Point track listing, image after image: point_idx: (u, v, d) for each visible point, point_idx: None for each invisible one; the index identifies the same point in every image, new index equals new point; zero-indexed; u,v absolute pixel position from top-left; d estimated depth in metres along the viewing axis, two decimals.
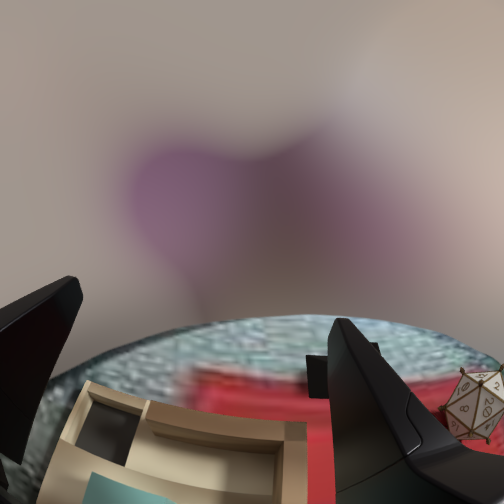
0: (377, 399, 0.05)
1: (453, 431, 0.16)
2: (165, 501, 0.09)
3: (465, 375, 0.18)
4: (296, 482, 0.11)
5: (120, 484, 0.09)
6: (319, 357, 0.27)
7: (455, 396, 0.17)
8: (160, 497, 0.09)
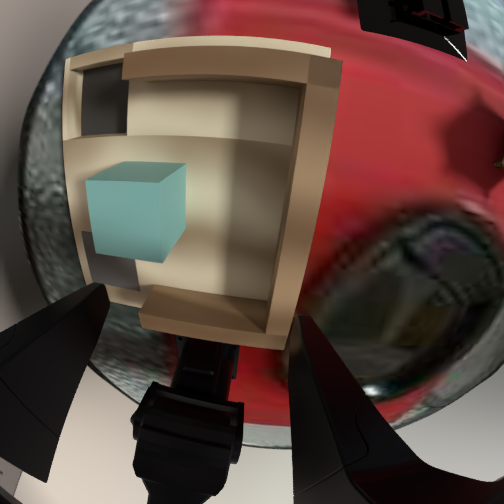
0: (324, 400, 0.05)
1: None
2: (159, 187, 0.12)
3: None
4: (316, 149, 0.12)
5: (113, 182, 0.12)
6: None
7: None
8: (153, 184, 0.12)
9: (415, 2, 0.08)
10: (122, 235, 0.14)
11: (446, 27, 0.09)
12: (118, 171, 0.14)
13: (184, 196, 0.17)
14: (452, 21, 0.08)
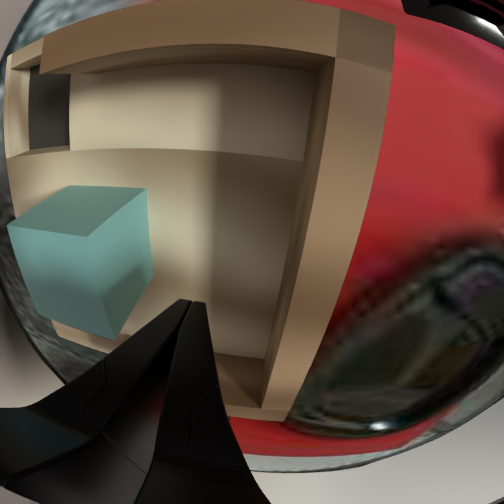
0: (170, 382, 0.05)
1: None
2: (90, 242, 0.07)
3: None
4: (349, 177, 0.07)
5: (34, 231, 0.07)
6: None
7: None
8: (80, 238, 0.07)
9: None
10: (59, 300, 0.09)
11: None
12: (51, 207, 0.09)
13: (146, 234, 0.12)
14: None
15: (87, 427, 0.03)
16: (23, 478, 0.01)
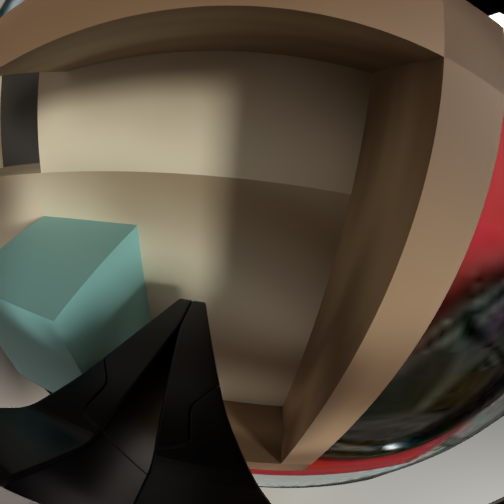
0: (170, 382, 0.05)
1: None
2: (60, 326, 0.05)
3: None
4: (444, 244, 0.04)
5: None
6: None
7: None
8: (46, 321, 0.04)
9: None
10: (39, 371, 0.06)
11: None
12: (16, 254, 0.06)
13: (140, 283, 0.09)
14: None
15: (87, 427, 0.03)
16: (23, 478, 0.01)
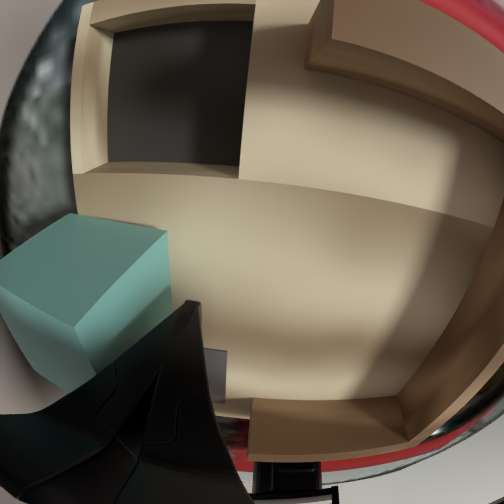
0: (160, 380, 0.05)
1: None
2: (80, 332, 0.05)
3: None
4: None
5: (10, 294, 0.05)
6: None
7: None
8: (65, 326, 0.04)
9: None
10: (54, 370, 0.06)
11: None
12: (38, 251, 0.06)
13: (166, 289, 0.09)
14: None
15: (99, 433, 0.03)
16: (38, 488, 0.01)
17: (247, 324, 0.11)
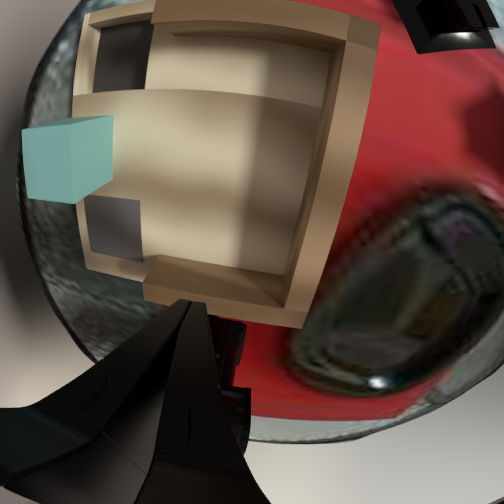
0: (170, 382, 0.05)
1: None
2: (71, 128, 0.11)
3: None
4: (353, 104, 0.10)
5: (39, 129, 0.10)
6: None
7: None
8: (66, 126, 0.10)
9: (456, 17, 0.08)
10: (45, 177, 0.12)
11: (480, 29, 0.08)
12: (51, 123, 0.12)
13: (110, 146, 0.15)
14: (488, 27, 0.07)
15: (87, 427, 0.03)
16: (23, 478, 0.01)
17: (150, 175, 0.16)
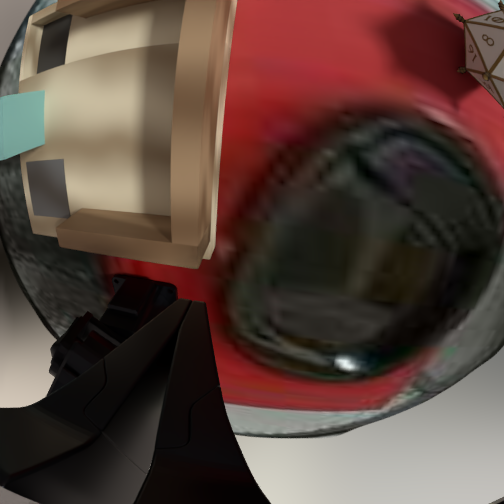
0: (170, 382, 0.05)
1: (469, 60, 0.10)
2: (4, 99, 0.09)
3: (503, 12, 0.05)
4: (199, 18, 0.09)
5: None
6: None
7: (481, 19, 0.06)
8: (1, 98, 0.09)
9: None
10: None
11: None
12: None
13: (41, 115, 0.14)
14: None
15: (87, 427, 0.03)
16: (23, 478, 0.01)
17: (69, 134, 0.15)
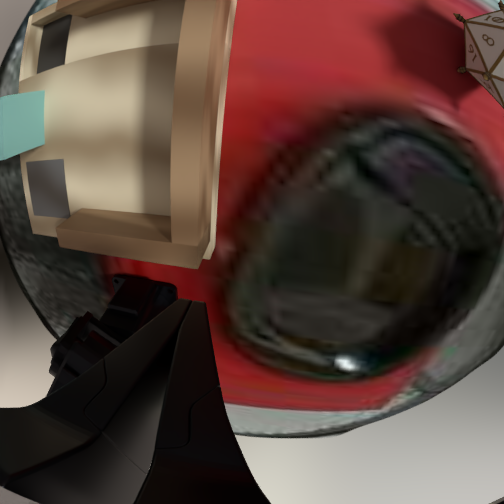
0: (170, 382, 0.05)
1: (469, 60, 0.10)
2: (4, 99, 0.09)
3: (503, 12, 0.05)
4: (199, 18, 0.09)
5: None
6: None
7: (481, 19, 0.06)
8: (0, 98, 0.09)
9: None
10: None
11: None
12: None
13: (41, 115, 0.14)
14: None
15: (87, 427, 0.03)
16: (23, 478, 0.01)
17: (69, 134, 0.15)
